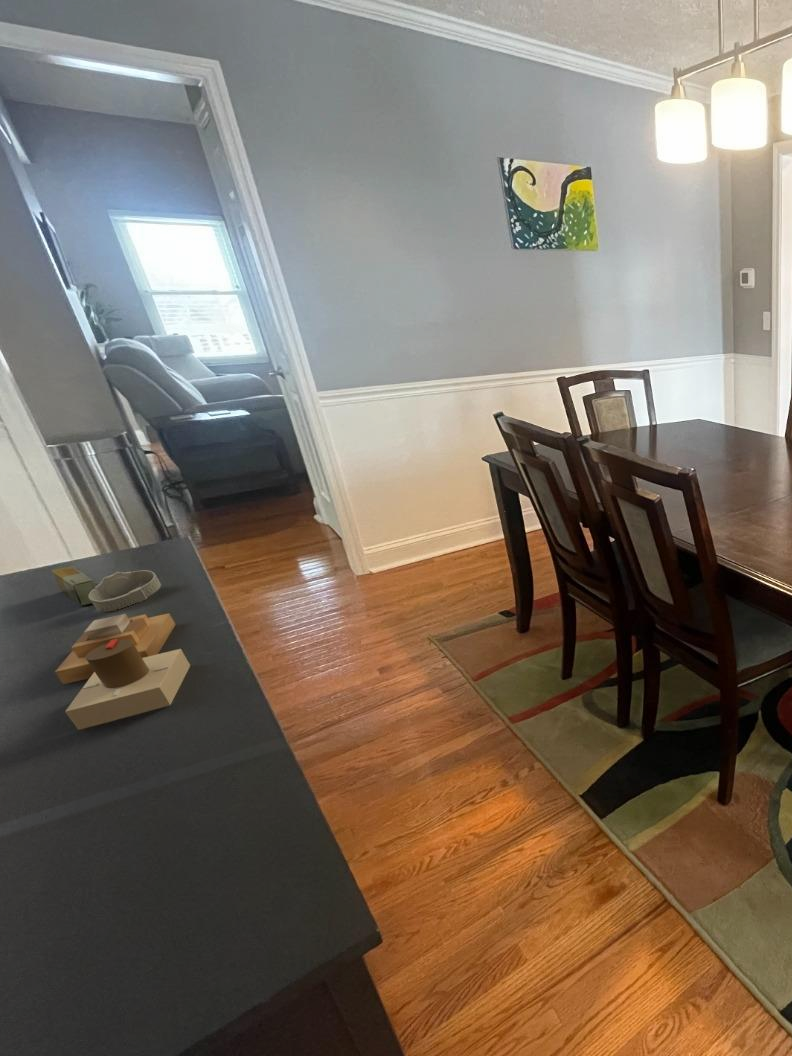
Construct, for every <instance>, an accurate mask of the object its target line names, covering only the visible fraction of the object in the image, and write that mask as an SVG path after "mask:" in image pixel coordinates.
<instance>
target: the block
mask: <svg viewBox="0 0 792 1056" xmlns="http://www.w3.org/2000/svg"><path fill="white" fill-rule="evenodd" d="M128 619H129V621H130V622H131V623H130V625H129V626H128V627H127V629H126V630H125V631H124V633H120V634H116V635H111V636H107V637H102V638H98V639H94V640H89V639H88V637H87V636H86V634H85V633H84V632H83V633H82V634H81V636H80V637H79V638H78V639H77V640H76V641H75V643H74V644H73V645H72V646H71V650H72V651H71V652H70V653H69V654H68V656H67V657H66V658H65V659H64V660H63V661H62V663H60V665H59V666H58V667H57V669H55V671H54V673H55V675H56V676H57V678H58V679H59V681H60V682H61V683H62V684H63V685H67V684H70V683H75V682H78V681H79V682H80V681H84V680H89V679H90V677H91V676H92V674H93V673H94V670H93V669H92V667H91V666H90V664H89V663H88V661H87V660H86V658H85V657H86V655H87V654H88V653H89V652H90V651H92V650H93V649H95V648H97V647H99V646H102V645H104V644H107V643H109V642H110V641H111V640H114V639H117V640H118V641H119V640H130V641H132V642H133V644H134V646H135V647H136V649H137V651H138V652H139V654H140V655H141V657H142V658H144V657H149V656H153V655H157V654H160V651H161V650H162V648H163V646H164V644H165V643H166V641H167V640H168V638H169V637H170V635H171V634H172V632H173V630H174V628H175V626H176V625H177V624H176V622H175V621H174V618H173V617H172V616H171V614H170V612H169V613H163V614H159V615H155V616H151V617H148V616H147V614H146V613H145V614H141V615H136V616H130V617H128Z"/></svg>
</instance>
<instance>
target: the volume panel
mask: <svg viewBox="0 0 792 1056" xmlns="http://www.w3.org/2000/svg"><path fill="white" fill-rule="evenodd" d="M142 659H143V660H144V662H145V664H146V665H147V667H148V669H149V671H148V673H147V674H146V675H145V676H143V677H142V678H140V679H139V680H137V681H135V682H132V683H130V684H127V685H124V686H120V687H115V688H107V687H105V686H104V685H103V684H102V682H101V681H100V679H99V678H98V676H97V675H96V673H95V672H94V673H93V674H92V676H91V677H90V678H88V679H87V681H86V682H85V684H84V685H83V686H82V688H81V689H80V691H79V692H78V693H77V695H76V696H75V697H74V699H73V700H72V701H71V703H70V704H69V706H68V707H67V708H66V709H65V712H64V713H65V714H66V715H67V716H68V718H69V719H70V721H71V722H72V723H73V725H74V726H75V728H76V730H78V731H80V730H83V729H87V728H91V727H94V726H98V725H101V724H106V723H109V722H113V721H116V720H120V719H124V718H128V717H132V716H137V715H140V714H143V713H147V712H151V711H154V710H157V709H161V708H162V709H163V708H165V707H169V706H171V705H172V704H173V701H174V699H175V697H176V695H177V693H178V691H179V690H180V687H181V686H182V684H183V681H184V679H185V677H186V675H187V673H188V671H189V669H190V668H191V664H190V662H189V661H188V659H187V657H186V656H185V653H184V652H183V650H182V649H181V648H179V649H173V650H169V651H166V652H161V653H158V654H157V655H153V656H149V657H144V658H142Z"/></svg>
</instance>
